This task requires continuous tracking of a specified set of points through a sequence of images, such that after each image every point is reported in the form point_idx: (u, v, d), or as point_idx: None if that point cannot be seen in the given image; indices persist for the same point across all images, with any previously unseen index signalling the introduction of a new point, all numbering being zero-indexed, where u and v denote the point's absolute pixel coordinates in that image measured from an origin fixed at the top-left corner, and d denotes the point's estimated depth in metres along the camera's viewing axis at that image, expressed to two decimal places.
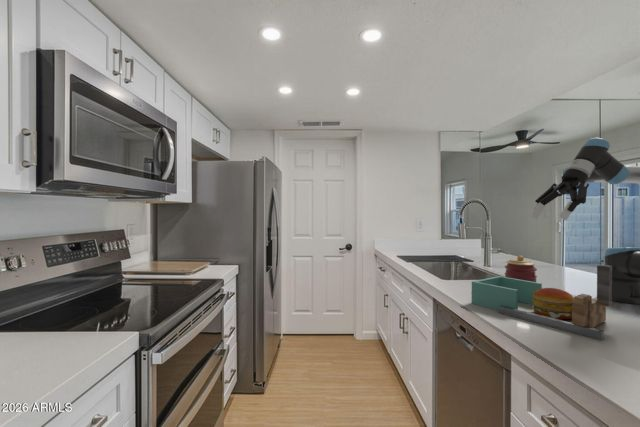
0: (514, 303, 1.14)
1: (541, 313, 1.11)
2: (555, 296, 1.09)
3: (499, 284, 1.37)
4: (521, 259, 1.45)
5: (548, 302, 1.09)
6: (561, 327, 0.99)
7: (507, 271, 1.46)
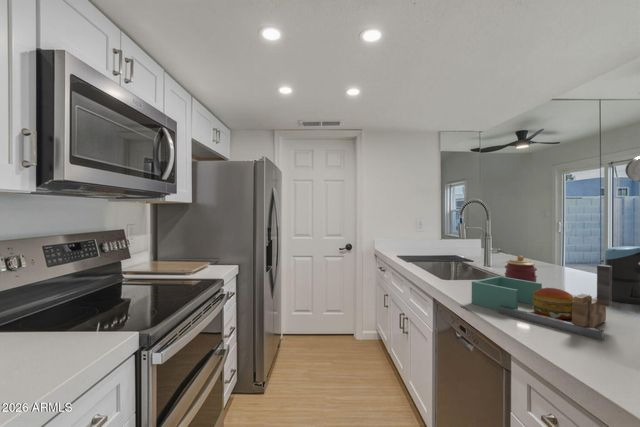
0: (514, 303, 1.14)
1: (541, 313, 1.11)
2: (555, 296, 1.09)
3: (499, 284, 1.37)
4: (521, 259, 1.45)
5: (548, 302, 1.09)
6: (561, 327, 0.99)
7: (507, 271, 1.46)
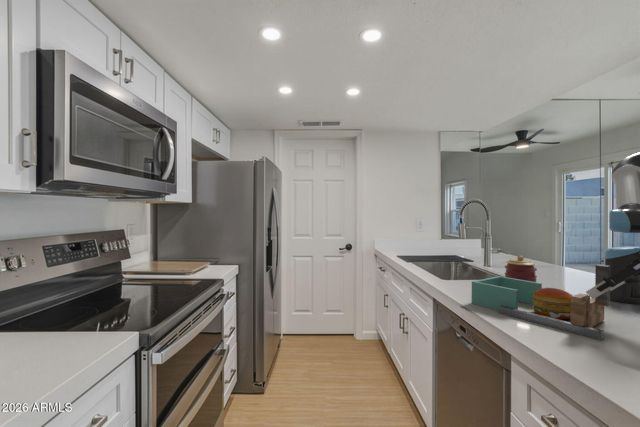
0: (514, 303, 1.14)
1: (541, 313, 1.11)
2: (555, 296, 1.09)
3: (499, 284, 1.37)
4: (521, 259, 1.45)
5: (548, 302, 1.09)
6: (561, 327, 0.99)
7: (507, 271, 1.46)
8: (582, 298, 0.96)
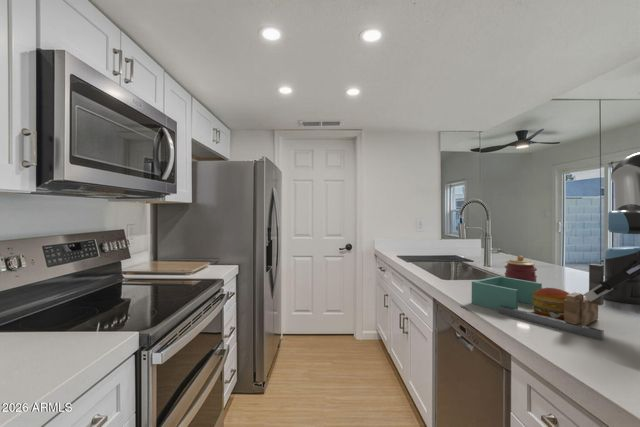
0: (514, 303, 1.14)
1: (541, 313, 1.11)
2: (555, 296, 1.09)
3: (499, 284, 1.37)
4: (521, 259, 1.45)
5: (548, 302, 1.09)
6: (561, 327, 0.99)
7: (507, 271, 1.46)
8: (575, 297, 0.97)
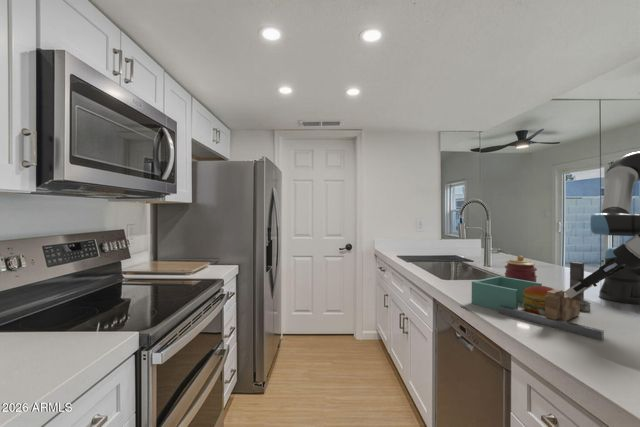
0: (514, 303, 1.14)
1: (530, 310, 1.14)
2: (544, 293, 1.11)
3: (499, 284, 1.37)
4: (521, 259, 1.45)
5: (537, 299, 1.12)
6: (561, 327, 0.99)
7: (507, 271, 1.46)
8: (556, 293, 1.01)
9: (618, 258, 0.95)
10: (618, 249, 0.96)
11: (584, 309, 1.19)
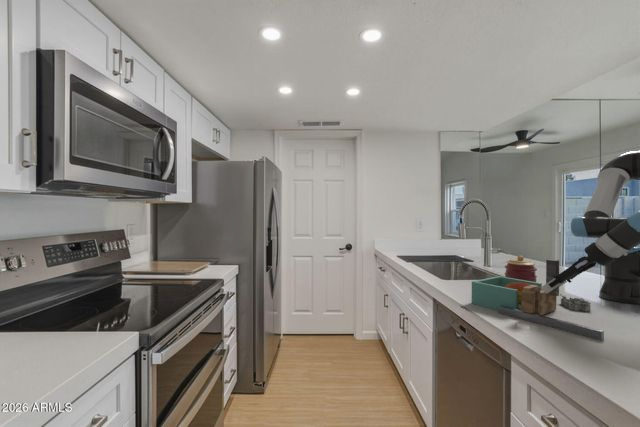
0: (514, 303, 1.14)
1: None
2: None
3: (499, 284, 1.37)
4: (521, 259, 1.45)
5: None
6: (561, 327, 0.99)
7: (507, 271, 1.46)
8: (531, 289, 1.07)
9: (588, 255, 1.01)
10: (589, 247, 1.02)
11: (584, 309, 1.19)
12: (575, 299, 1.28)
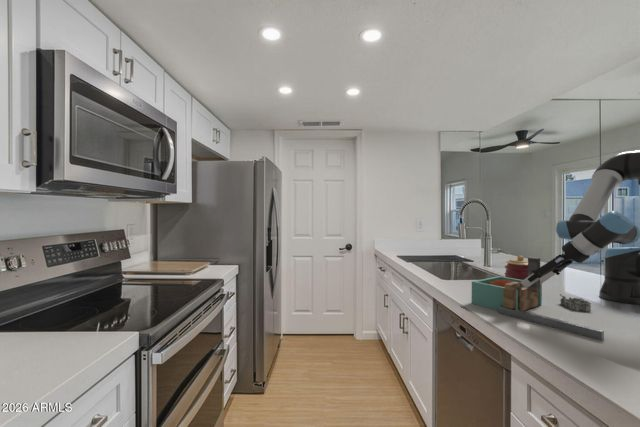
0: None
1: None
2: None
3: None
4: (521, 259, 1.45)
5: None
6: (561, 327, 0.99)
7: (507, 271, 1.46)
8: (513, 285, 1.12)
9: (565, 253, 1.07)
10: (565, 245, 1.08)
11: (585, 309, 1.19)
12: (574, 299, 1.28)
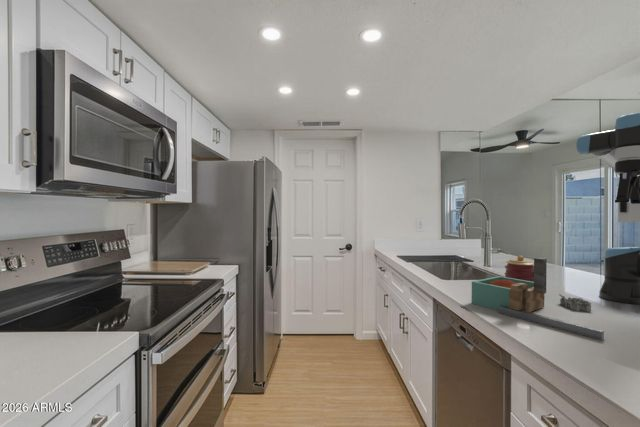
0: None
1: None
2: (506, 286, 1.22)
3: None
4: (521, 259, 1.45)
5: None
6: (561, 327, 0.99)
7: (507, 271, 1.46)
8: (519, 286, 1.11)
9: (623, 170, 1.04)
10: (616, 166, 1.06)
11: (585, 309, 1.19)
12: (574, 299, 1.28)
